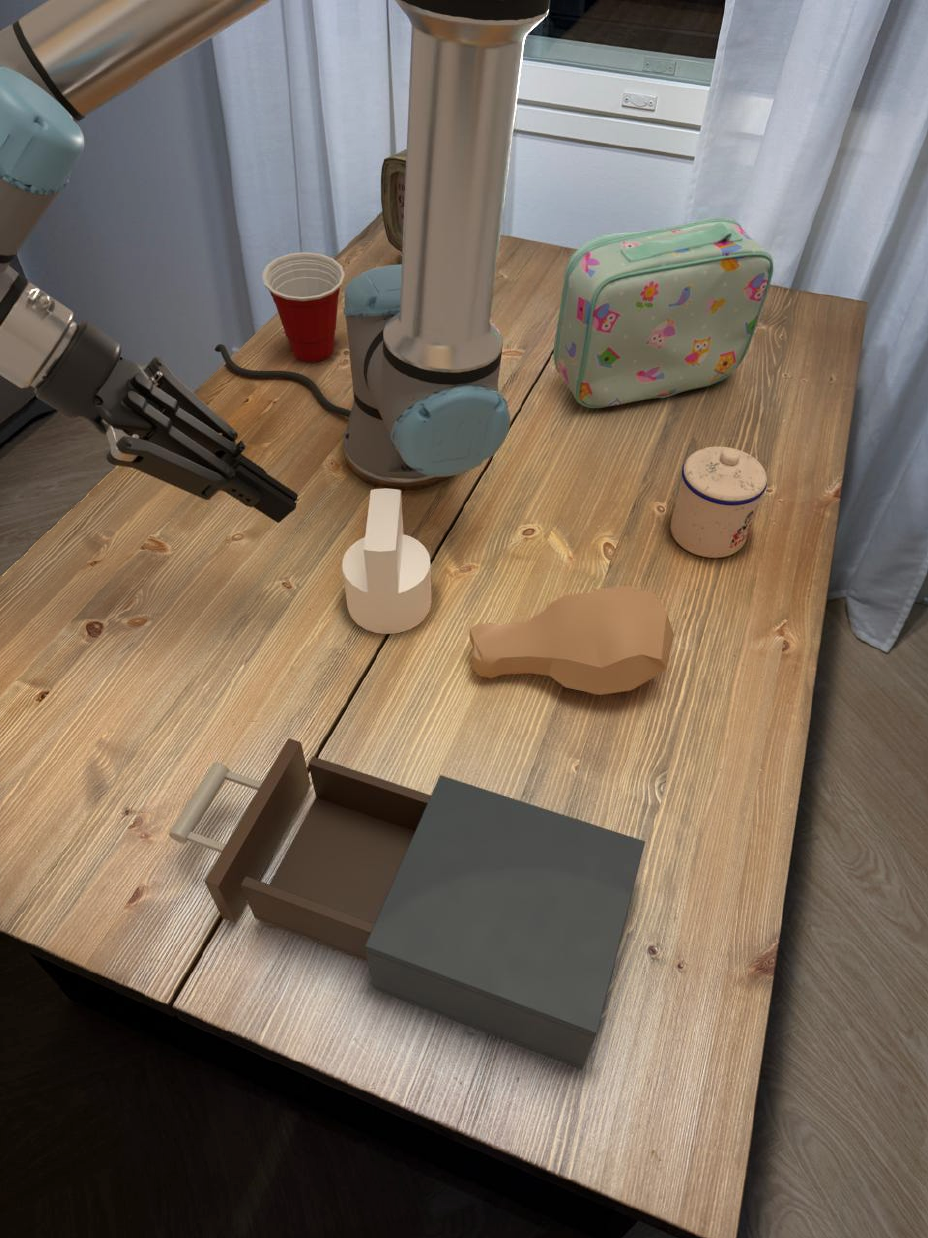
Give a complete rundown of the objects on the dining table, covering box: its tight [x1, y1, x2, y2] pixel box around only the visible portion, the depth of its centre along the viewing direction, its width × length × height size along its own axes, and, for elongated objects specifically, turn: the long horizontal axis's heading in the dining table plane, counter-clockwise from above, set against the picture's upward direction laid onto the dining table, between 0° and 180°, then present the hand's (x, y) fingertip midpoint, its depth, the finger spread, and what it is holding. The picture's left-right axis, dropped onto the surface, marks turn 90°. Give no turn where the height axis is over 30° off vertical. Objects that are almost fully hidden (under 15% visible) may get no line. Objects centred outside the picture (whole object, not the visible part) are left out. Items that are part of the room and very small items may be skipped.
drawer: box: [168, 737, 432, 963], centre depth 72 cm, size 21×14×7 cm, turn 70°
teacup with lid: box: [670, 446, 768, 559], centre depth 99 cm, size 12×9×12 cm
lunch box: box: [553, 217, 774, 409], centre depth 114 cm, size 27×10×21 cm, turn 111°
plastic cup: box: [261, 251, 346, 363], centre depth 122 cm, size 11×11×12 cm
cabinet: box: [365, 774, 646, 1070], centre depth 68 cm, size 17×15×9 cm
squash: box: [468, 585, 675, 696], centre depth 87 cm, size 11×20×9 cm, turn 92°
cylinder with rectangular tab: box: [341, 488, 432, 635], centre depth 91 cm, size 9×9×12 cm
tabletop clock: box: [380, 148, 407, 265], centre depth 133 cm, size 14×9×25 cm, turn 50°
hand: (288, 508), depth 85 cm, fingers closed
